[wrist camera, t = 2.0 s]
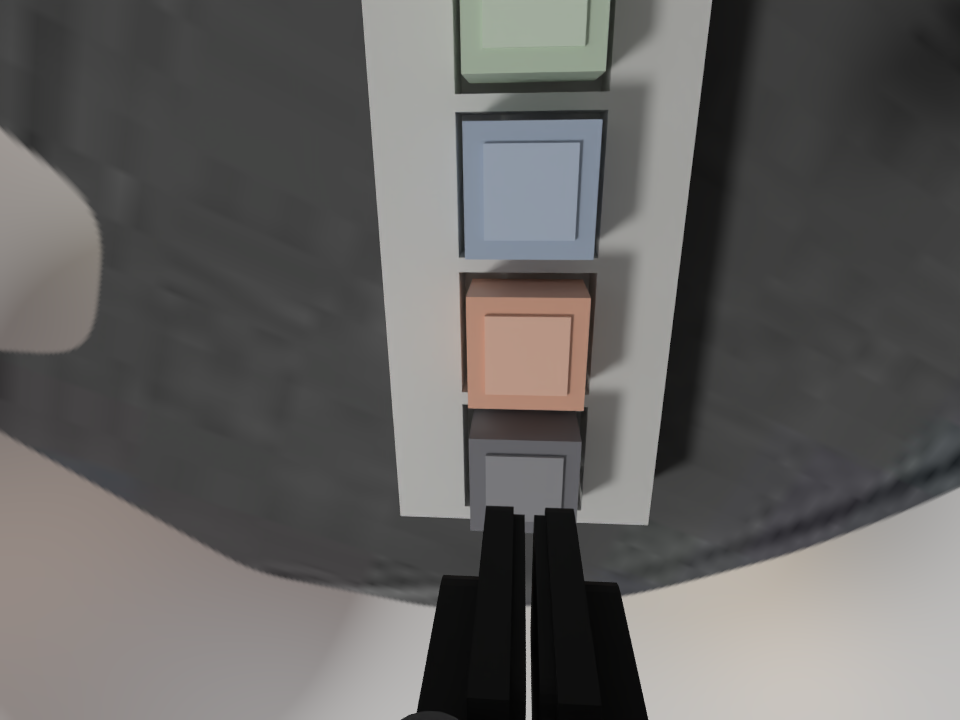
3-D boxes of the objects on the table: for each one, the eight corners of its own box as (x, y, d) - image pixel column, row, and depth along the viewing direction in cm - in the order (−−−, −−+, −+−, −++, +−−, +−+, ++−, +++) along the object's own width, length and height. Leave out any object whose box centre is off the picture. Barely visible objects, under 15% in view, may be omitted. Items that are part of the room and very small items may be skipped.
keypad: (698, -90, 20) (728, -130, 17) (635, 486, 29) (647, 525, 26) (376, -77, 21) (353, -113, 18) (412, 479, 30) (400, 515, 27)
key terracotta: (582, 279, 23) (591, 299, 20) (577, 380, 25) (583, 412, 22) (472, 278, 23) (465, 298, 20) (474, 378, 25) (467, 410, 22)
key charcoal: (575, 408, 25) (582, 443, 22) (570, 493, 27) (576, 536, 24) (474, 406, 25) (468, 440, 23) (475, 490, 27) (470, 532, 24)
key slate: (592, 122, 21) (603, 119, 18) (584, 245, 22) (594, 260, 20) (470, 124, 21) (461, 121, 18) (472, 245, 23) (464, 260, 20)
